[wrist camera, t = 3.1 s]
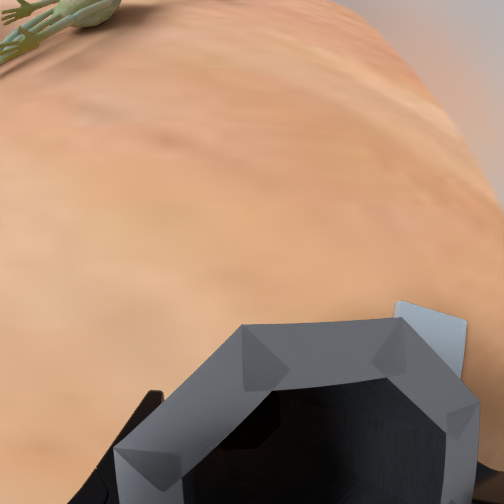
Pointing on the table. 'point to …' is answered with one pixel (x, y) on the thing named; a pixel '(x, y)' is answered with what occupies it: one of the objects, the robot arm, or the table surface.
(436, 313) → the pedestal
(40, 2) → the toy
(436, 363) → the sleeve
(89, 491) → the robot arm
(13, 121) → the table surface
